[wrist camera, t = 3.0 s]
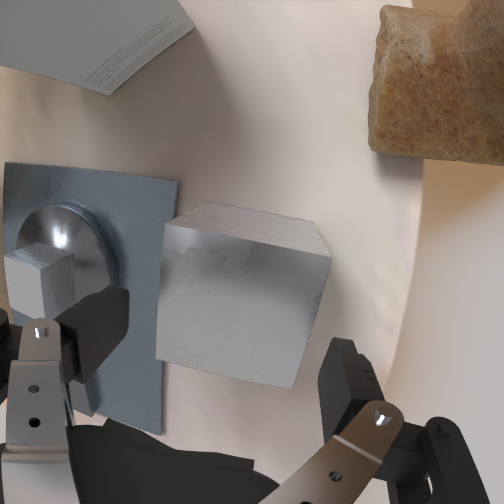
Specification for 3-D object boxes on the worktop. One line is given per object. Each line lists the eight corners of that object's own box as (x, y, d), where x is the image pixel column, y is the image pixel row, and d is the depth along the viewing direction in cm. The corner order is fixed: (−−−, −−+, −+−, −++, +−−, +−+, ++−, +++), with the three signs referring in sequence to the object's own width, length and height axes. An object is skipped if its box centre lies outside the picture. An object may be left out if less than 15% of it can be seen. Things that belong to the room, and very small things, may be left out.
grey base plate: (8, 162, 18) (-41, 167, 13) (180, 181, 18) (139, 188, 12) (30, 375, 24) (2, 403, 19) (162, 432, 24) (143, 475, 19)
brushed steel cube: (208, 201, 18) (165, 223, 11) (313, 222, 18) (332, 257, 11) (194, 297, 20) (155, 358, 13) (289, 317, 19) (291, 389, 13)
